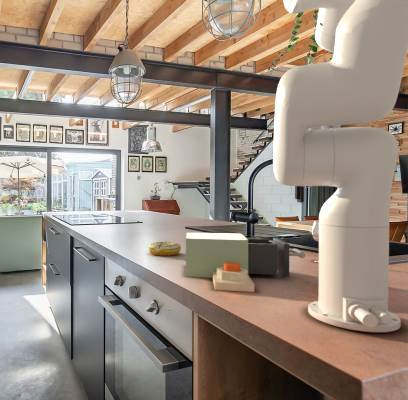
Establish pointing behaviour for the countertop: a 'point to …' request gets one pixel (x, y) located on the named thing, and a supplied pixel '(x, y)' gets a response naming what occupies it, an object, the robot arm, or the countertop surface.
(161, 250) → the decorated donut
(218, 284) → the block
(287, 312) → the countertop surface
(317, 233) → the wineglass
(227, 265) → the button
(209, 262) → the green drawer cabinet
